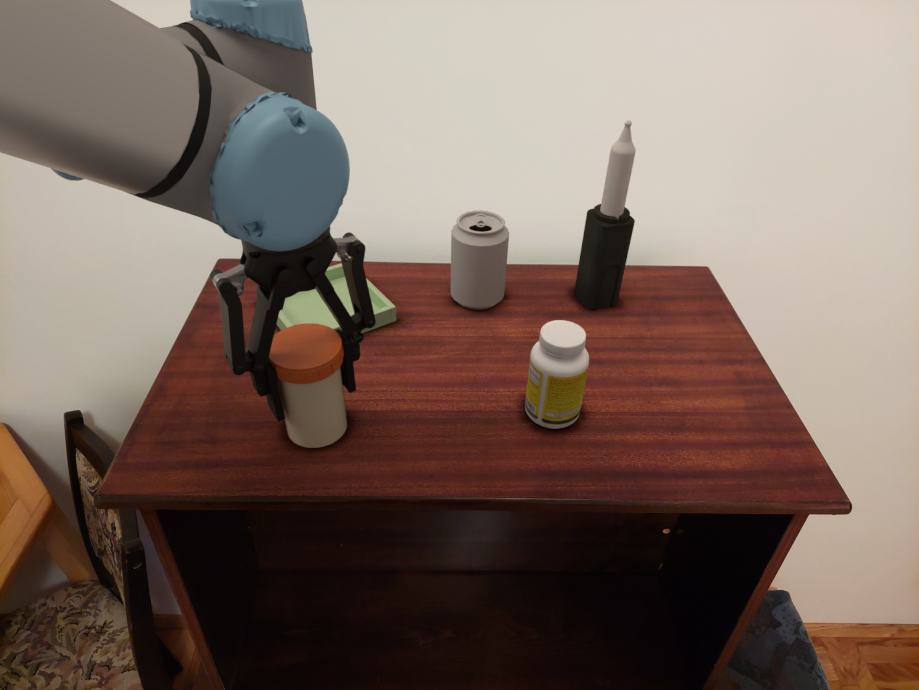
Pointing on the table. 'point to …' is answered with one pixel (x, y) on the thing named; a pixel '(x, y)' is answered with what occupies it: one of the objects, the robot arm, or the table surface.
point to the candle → (607, 232)
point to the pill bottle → (557, 375)
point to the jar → (314, 411)
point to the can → (479, 259)
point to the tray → (315, 310)
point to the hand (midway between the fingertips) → (312, 397)
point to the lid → (306, 353)
